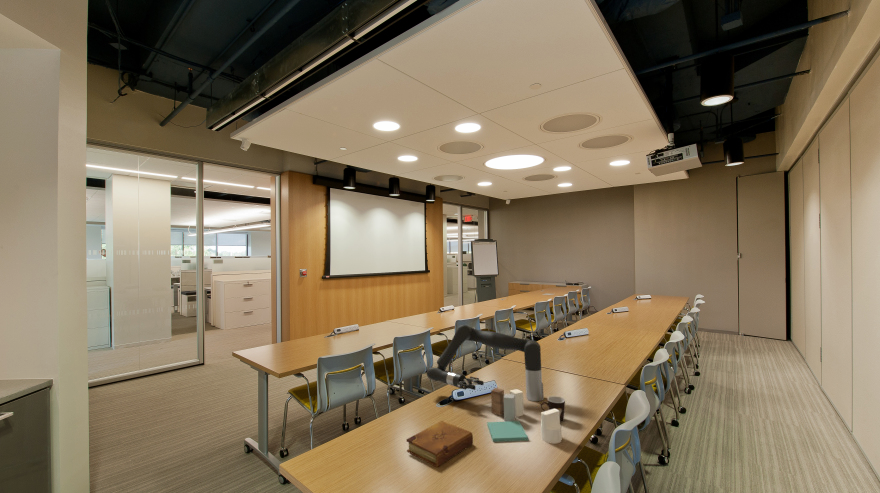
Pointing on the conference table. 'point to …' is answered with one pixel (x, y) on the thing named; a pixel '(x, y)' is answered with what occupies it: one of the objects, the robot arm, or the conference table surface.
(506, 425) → the teal board
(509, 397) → the grey brick
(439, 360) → the robot arm
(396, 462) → the conference table surface
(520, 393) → the off-white brick
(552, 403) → the coffee mug
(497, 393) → the walnut brick
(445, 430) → the diary
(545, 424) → the base with upright slab
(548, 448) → the conference table surface
